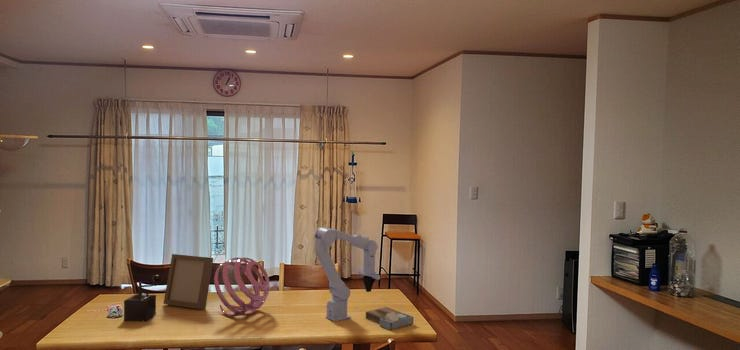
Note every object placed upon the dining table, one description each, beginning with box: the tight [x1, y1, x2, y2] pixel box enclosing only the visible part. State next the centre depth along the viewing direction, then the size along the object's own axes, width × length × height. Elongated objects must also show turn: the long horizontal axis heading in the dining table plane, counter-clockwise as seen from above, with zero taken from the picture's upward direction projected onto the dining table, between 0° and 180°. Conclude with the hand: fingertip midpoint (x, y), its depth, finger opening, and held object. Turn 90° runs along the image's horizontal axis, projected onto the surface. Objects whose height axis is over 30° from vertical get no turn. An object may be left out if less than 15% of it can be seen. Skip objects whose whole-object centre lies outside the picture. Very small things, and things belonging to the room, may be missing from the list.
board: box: [365, 306, 402, 325], centre depth 228 cm, size 13×12×3 cm
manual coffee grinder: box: [123, 274, 162, 322], centre depth 224 cm, size 16×11×18 cm
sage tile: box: [396, 314, 408, 320], centre depth 223 cm, size 5×5×3 cm
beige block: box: [384, 312, 399, 322], centre depth 219 cm, size 5×5×3 cm
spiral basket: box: [213, 257, 271, 317], centre depth 231 cm, size 28×28×27 cm
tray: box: [379, 312, 414, 332], centre depth 219 cm, size 14×7×4 cm, turn 130°
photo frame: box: [163, 253, 215, 310], centre depth 244 cm, size 15×22×25 cm
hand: (368, 291), depth 237 cm, fingers closed
